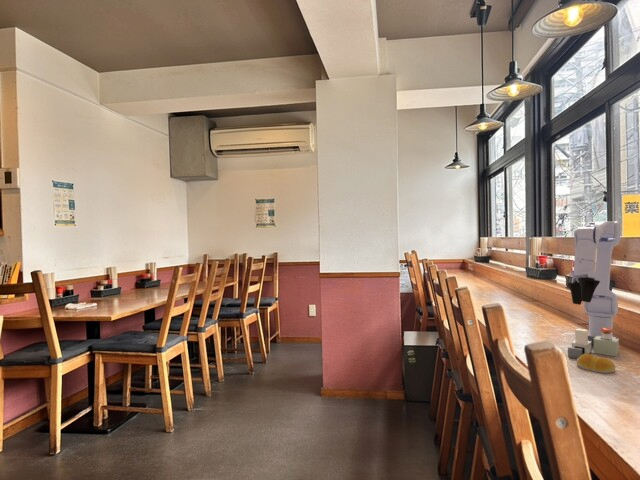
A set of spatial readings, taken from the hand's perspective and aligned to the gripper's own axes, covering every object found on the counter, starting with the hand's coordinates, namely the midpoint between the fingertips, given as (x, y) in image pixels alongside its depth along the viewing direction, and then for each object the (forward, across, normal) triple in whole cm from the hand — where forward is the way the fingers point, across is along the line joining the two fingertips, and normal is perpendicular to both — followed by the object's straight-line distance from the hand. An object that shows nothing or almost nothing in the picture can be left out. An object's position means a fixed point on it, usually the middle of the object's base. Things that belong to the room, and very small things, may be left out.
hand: (581, 303), depth 130 cm
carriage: (+15, -6, +3) cm, 17 cm away
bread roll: (+20, +11, +1) cm, 23 cm away
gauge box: (+14, -8, +11) cm, 19 cm away
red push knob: (+11, -7, +11) cm, 17 cm away
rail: (+15, -8, +4) cm, 17 cm away
